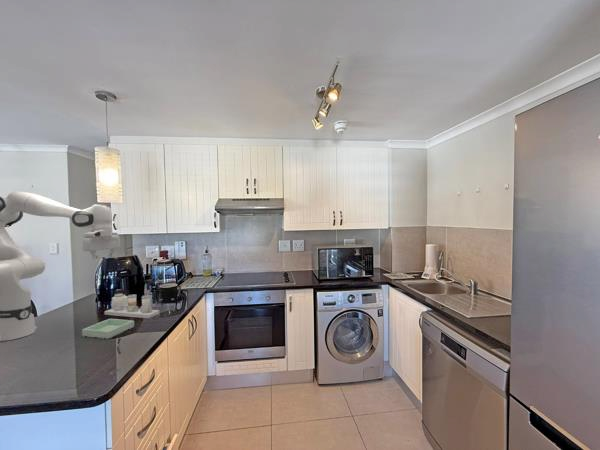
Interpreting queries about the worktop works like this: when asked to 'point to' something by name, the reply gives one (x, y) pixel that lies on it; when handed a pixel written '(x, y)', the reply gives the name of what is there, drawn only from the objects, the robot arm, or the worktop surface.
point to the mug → (168, 293)
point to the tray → (108, 328)
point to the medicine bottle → (125, 298)
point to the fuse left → (118, 301)
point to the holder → (132, 314)
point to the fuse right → (145, 303)
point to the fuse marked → (132, 302)
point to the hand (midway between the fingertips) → (103, 257)
